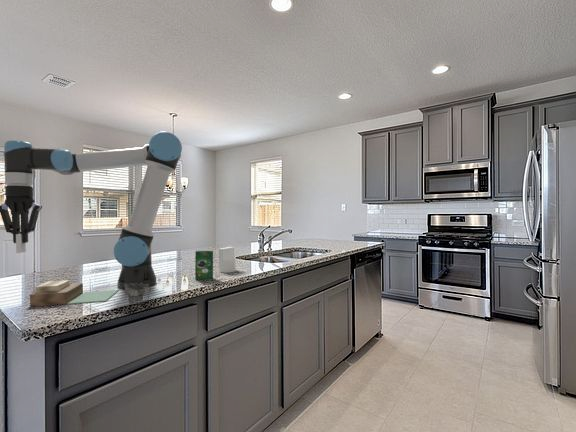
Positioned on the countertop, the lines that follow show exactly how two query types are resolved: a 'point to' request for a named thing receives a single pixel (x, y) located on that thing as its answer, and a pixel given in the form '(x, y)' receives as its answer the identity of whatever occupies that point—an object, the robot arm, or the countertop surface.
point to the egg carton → (136, 289)
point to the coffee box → (203, 265)
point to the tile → (52, 286)
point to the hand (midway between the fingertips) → (21, 252)
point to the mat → (94, 296)
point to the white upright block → (226, 260)
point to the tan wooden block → (56, 296)
